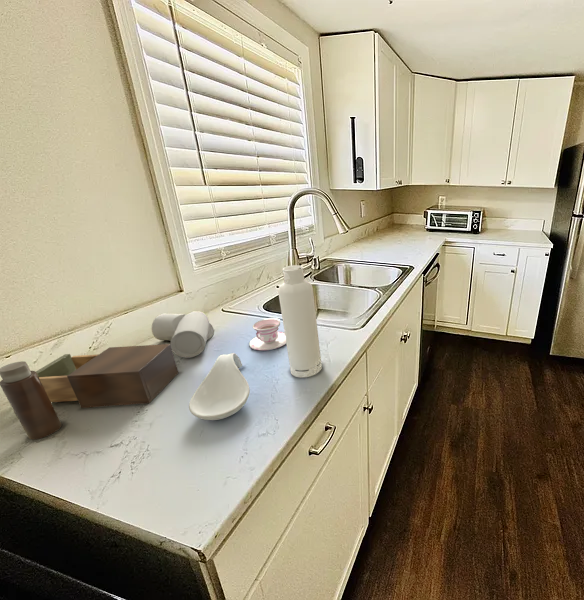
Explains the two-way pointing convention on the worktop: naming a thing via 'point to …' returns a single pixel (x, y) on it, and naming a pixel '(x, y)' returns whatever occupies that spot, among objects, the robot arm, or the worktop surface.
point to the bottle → (299, 322)
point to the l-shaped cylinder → (184, 332)
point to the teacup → (267, 335)
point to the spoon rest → (221, 390)
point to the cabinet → (124, 376)
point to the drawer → (61, 376)
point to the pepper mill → (29, 400)
